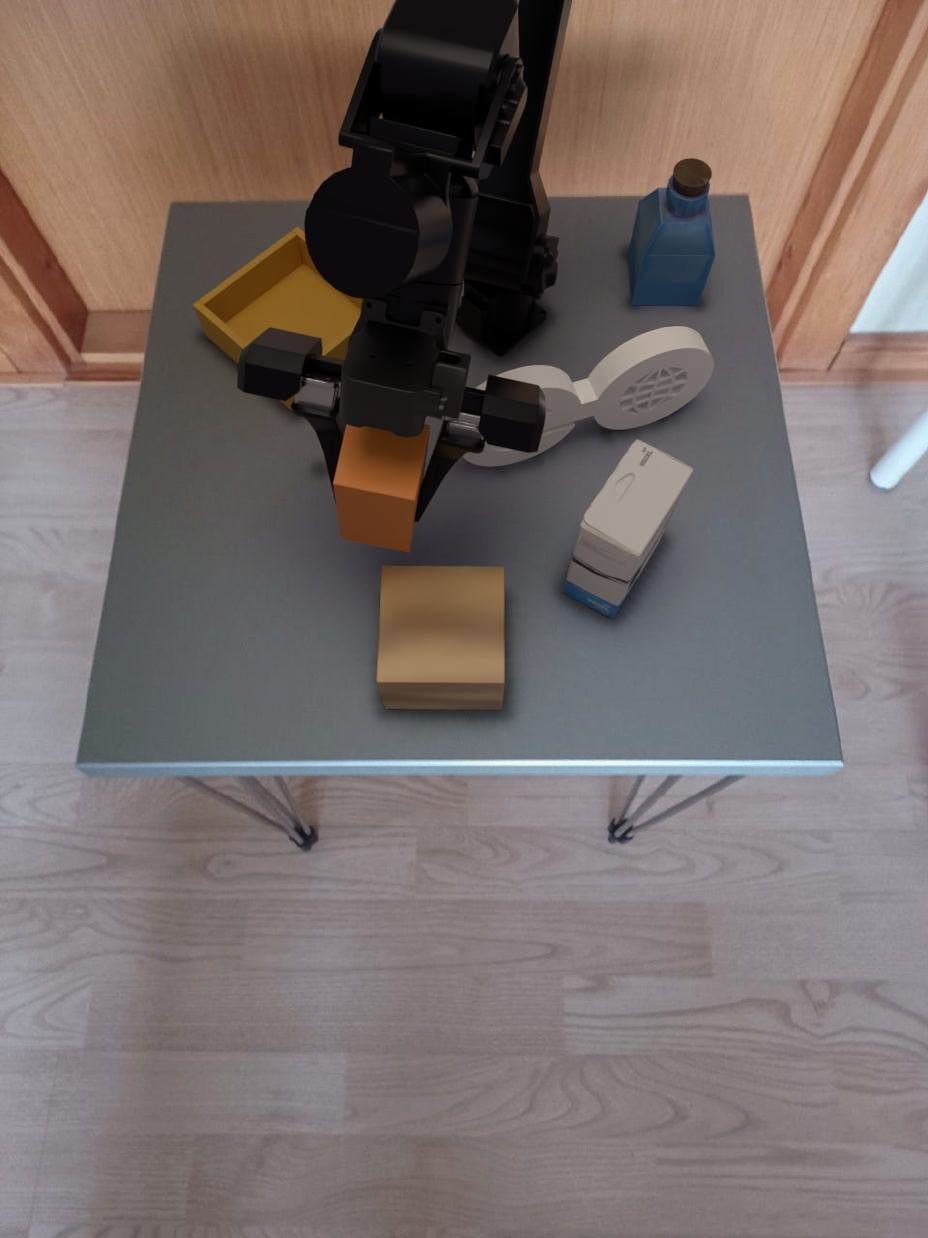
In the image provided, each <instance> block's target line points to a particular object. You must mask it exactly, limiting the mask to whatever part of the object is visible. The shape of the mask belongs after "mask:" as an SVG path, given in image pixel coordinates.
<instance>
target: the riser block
mask: <svg viewBox="0 0 928 1238" xmlns="http://www.w3.org/2000/svg"><path fill="white" fill-rule="evenodd" d="M379 599H380V600H379V617H378V618H379V619H378V637H377V638H378V639H377V654H376V655H377V657H376V679H375V683H376V685H377V688H378V692H379V694H380V697H381V700H382V702H383V706H384V709H386V710H462V711H463V710H466V711H467V710H468V711H469V710H473V711H474V710H475V711H476V710H477V711H501V710H502V709H503V701H504V694H505V686H506V629H505V627H506V626H505V625H506V623H505V622H506V621H505V619H506V617H505V616H506V615H505V611H506V610H505V608H506V607H505V566H497V565H496V566H487V565H486V566H481V565H480V566H479V565H477V566H476V565H472V566H471V565H464V566H463V565H382V566H381V577H380V598H379Z"/></svg>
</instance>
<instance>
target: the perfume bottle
mask: <svg viewBox="0 0 928 1238" xmlns="http://www.w3.org/2000/svg"><path fill="white" fill-rule="evenodd" d="M712 177H713V170H712V168H711V167H710V165H709V164H708V163H707V162H705V161H703V160H701V159H698V158H693V157H688V158H683V159H681V160H679V161H678V162H676V163H675V165H674V166H673V169H672V174H671V175H670V177H669V179H668V180H667V181H668V182H667V185H666V187H657V188H656V189H654V190H653V191H652V192H650V193H649V194H648V195H646V196H645V197H643V198H642V199H640V200H639V201H638V206H637V210H636V214H635V219H634V224H633V228H632V232H631V237H630V242H629V246H628V251H627V259H628V260H627V263H628V275H629V276H628V277H629V289H630V290H629V291H630V292H629V293H630V305H631V306H664V307H665V306H673V307H674V306H678V307H679V306H681V307H682V306H685V307H686V306H687V307H689V306H690V307H691V306H692V307H694V306H695V307H699V304H700V301H701V298H702V295H703V293H704V290H705V287H706V284H707V281H708V278H709V275H710V272H711V269H712V267H713V264H714V262H715V258H716V249H715V248H716V247H715V240H714V233H713V232H714V231H713V224H712V215H711V214H712V213H711V206H710V205H711V204H710V200H709V197H708V196H709V192H710V189H711V188H710V186H711V185H710V184H711V183H710V181H711V178H712Z"/></svg>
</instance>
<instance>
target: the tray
mask: <svg viewBox="0 0 928 1238" xmlns="http://www.w3.org/2000/svg"><path fill="white" fill-rule="evenodd" d="M361 304H362V298H354V297H351V296H348V295H346V294H344V293H342V292H340V291H338V290H336V289H335V288H333V287H332V286H331V285H330V284H329V283H328V282H327V281H325V280H324V279H323V277H322V276H321V275H320V273H319V272H318V271H317V269H316V268H315V266H314V264H313V262H312V260H311V257H310V255H309V253H308V249H307V245H306V241H305V230H302V229H301V228H300V227H299V226H296V227H295V228H293V229H292V230H291V231H290V232H288V233H287V234H285V235H284V236H283V237H281V238H280V239H279V240H277V241H276V242H275V243H273V244H272V245H270V246H269V247H268V248H267V249H266V250H264V251H263V252H261V253H260V254H258V255H257V256H256V257H255V258H253V259H252V260H251V261H250V262H248V263H247V264H245V265H244V266H242V267H241V268H240V269H238V270H237V271H236V272H234V273H233V274H232V275H230V276H229V277H227V278H226V279H224V281H222V282H221V283H220V284H218V285H217V286H216V287H214V288H213V289H212V290H210V291H209V292H207V293H206V294H205V295H204V296H202V297H200V298H199V299H198V300H197V301H195V302H194V303H193V304H192V308H193V309H194V311H195V315H196V316H197V319H198V320H199V323H200V325H201V326H200V327H201V328H202V330H203V333H204V335H205V336H206V337H207V338H208V339H209V340H210V341H211V342H212V343H213V344H214V345H216V346H217V347H218V348H219V349H220V350H221V351H222V352H223V353H225V354H226V355H227V356H228V357H230V358H231V359H232V360H233V361H234V362H235V363H236V364H237V365H238V363H239V359H240V355H241V352H242V349H244V348H245V347H246V346H247V345H248V344H249V343H251V342H252V341H253V340H254V339H255V338H257V337H258V336H259V335H260V334H261V333H263V332H264V331H265V330H267V329H268V328H269V327H272V328H276V329H281V330H285V331H290V332H295V333H299V334H304V335H309V336H313V337H318V338H321V339H322V347H323V351H322V355H323V356H327V357H332V358H337V359H341V360H345V357H346V355H347V349H348V341H349V338H350V336H351V334H352V331H353V329H354V327H355V325H356V323H357V321H358V319H359V317H360V312H361ZM295 395H296V394H295ZM295 395H294V396H292V397H291V398H289V399H288V400H287V401H282V400H279V402H281V403H282V405H284V406H285V407H286V408H288V410H290V411H291V404H292V403H293V402H294V400H295Z"/></svg>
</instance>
